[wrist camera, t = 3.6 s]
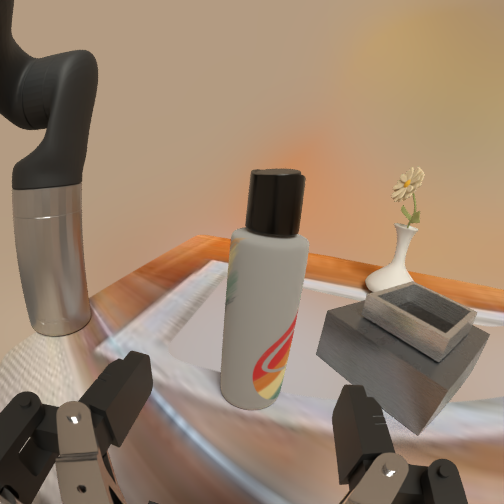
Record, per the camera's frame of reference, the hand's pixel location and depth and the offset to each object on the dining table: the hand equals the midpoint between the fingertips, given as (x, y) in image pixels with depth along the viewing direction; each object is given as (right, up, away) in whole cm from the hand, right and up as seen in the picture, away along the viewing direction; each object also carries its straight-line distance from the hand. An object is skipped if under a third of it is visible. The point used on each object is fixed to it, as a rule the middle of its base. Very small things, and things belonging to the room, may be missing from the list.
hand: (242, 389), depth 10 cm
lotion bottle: (0, -8, +14) cm, 16 cm away
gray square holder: (+19, -9, +18) cm, 28 cm away
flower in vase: (+27, -3, +39) cm, 48 cm away
